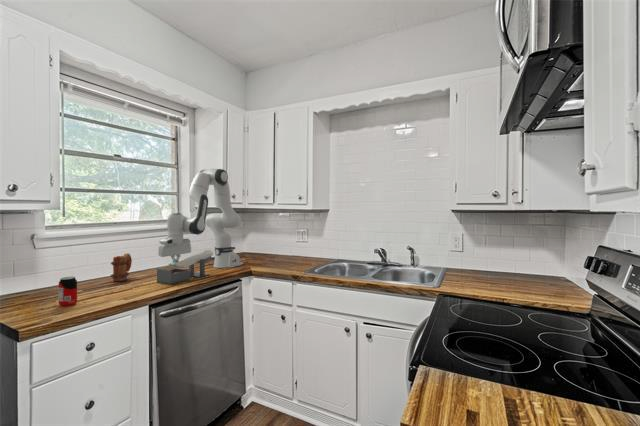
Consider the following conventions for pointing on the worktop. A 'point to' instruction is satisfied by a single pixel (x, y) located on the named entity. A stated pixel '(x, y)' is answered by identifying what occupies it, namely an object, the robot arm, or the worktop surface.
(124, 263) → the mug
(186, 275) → the grey open box
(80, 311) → the worktop surface
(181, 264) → the lever
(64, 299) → the beverage can
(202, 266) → the stand
